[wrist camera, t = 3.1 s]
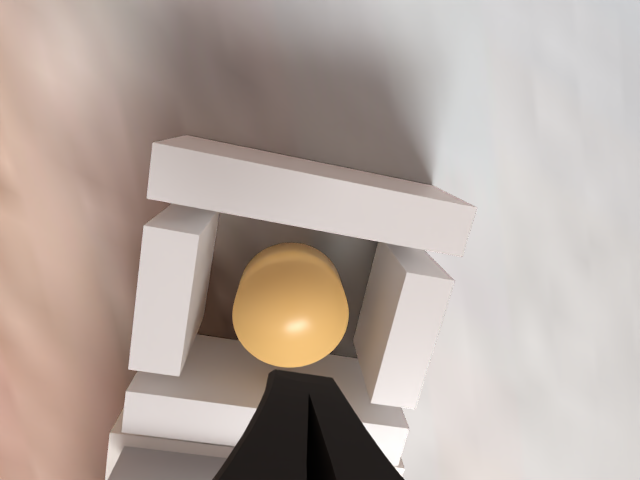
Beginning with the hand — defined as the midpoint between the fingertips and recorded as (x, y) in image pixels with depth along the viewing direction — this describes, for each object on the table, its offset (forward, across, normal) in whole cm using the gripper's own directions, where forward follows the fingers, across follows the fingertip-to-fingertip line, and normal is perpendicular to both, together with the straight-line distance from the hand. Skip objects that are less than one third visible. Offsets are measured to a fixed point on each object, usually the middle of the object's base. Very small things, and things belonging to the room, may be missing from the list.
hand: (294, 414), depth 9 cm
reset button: (+7, 0, 0) cm, 7 cm away
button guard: (+8, 0, 0) cm, 8 cm away
